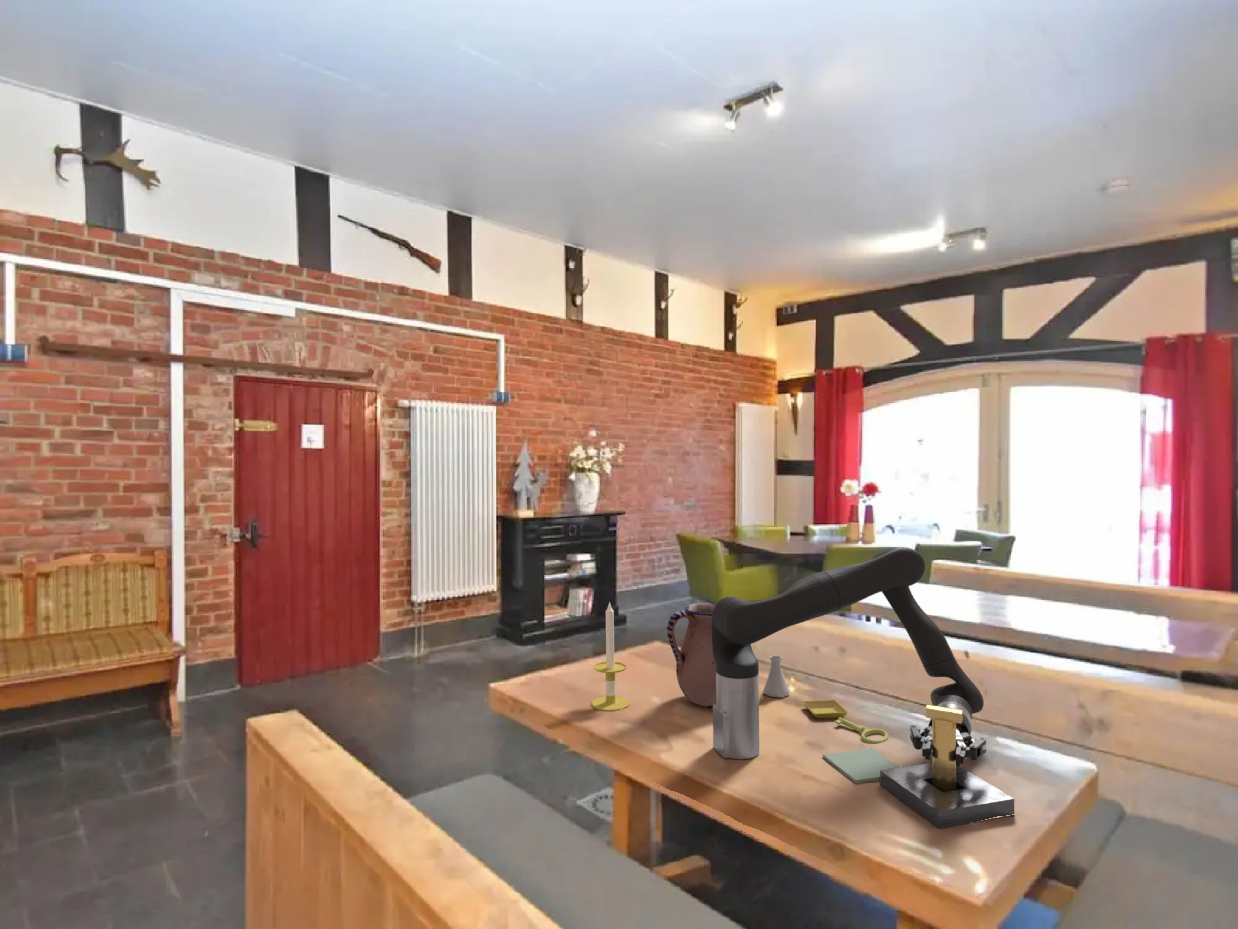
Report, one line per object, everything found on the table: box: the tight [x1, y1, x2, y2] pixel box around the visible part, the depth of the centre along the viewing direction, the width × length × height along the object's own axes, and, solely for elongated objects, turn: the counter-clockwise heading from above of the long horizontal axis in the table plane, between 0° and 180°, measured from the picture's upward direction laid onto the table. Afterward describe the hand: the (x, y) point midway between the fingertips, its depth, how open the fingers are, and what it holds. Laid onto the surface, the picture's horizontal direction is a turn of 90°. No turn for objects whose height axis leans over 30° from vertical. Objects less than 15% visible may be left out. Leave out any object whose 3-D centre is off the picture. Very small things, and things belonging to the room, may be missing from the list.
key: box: [833, 717, 889, 744], centre depth 157 cm, size 7×12×2 cm, turn 53°
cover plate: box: [879, 762, 1015, 830], centre depth 127 cm, size 16×16×3 cm
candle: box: [591, 601, 631, 712], centre depth 177 cm, size 10×10×27 cm
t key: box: [925, 704, 962, 792], centre depth 126 cm, size 6×4×17 cm, turn 60°
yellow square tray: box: [802, 699, 849, 719], centre depth 170 cm, size 9×9×2 cm
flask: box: [762, 655, 790, 699], centre depth 184 cm, size 7×7×10 cm
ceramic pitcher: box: [666, 601, 716, 707], centre depth 177 cm, size 18×21×25 cm
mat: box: [822, 747, 900, 784], centre depth 141 cm, size 12×12×1 cm
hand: (942, 757), depth 124 cm, fingers open, 4 cm apart
